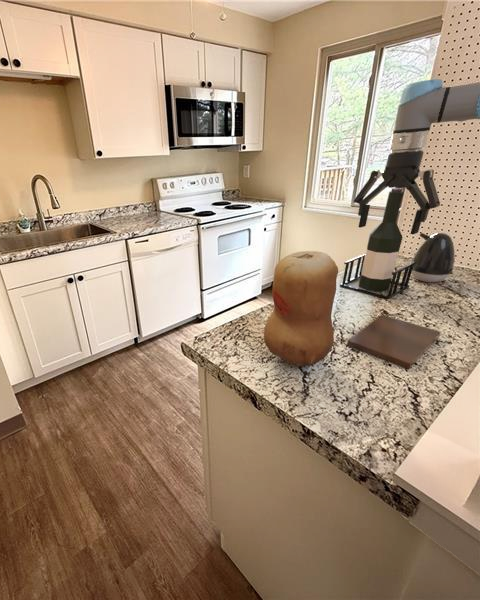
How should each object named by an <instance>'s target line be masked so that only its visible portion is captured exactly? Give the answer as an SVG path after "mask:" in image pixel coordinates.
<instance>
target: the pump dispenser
mask: <svg viewBox="0 0 480 600" xmlns="http://www.w3.org/2000/svg"><path fill="white" fill-rule="evenodd" d="M419 237H420V238H422V239H423V240H425V241H424V242H423V243H422V244H421V245H420V247H419V248H418V249H417V251H416V253H415V254H414V256H413V258H412V259H411V262H410V263H412V262H416V264H415V265H414V266H413V269H412V273H411V276H412V277H413V278H414V279H416V280H417V281H420V282H424V283H438V282H442V281H444V280H445V279H447V278H448V277H449V276H450V275H451V274H452V273H453V271H454V267H455V262H456V261H455V260H456V259H455V258H456V251H455V244H454V241H453V238H452V237H451V236H450V235H449V234H447V233H444V232H438V233H434V234H432V235H427V234H425V233H423V232H421V233H420V234H419Z"/></svg>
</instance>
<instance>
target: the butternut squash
mask: <svg viewBox="0 0 480 600" xmlns="http://www.w3.org/2000/svg"><path fill="white" fill-rule="evenodd" d="M273 272H274V273H273V280H272V291H271V294H272V295H271V296H272V300H273V305H274V307H273V310H272V312H271V314H270V315H269V317H268V318H267V321H266V323H265V325H264V330H263V341H264V344H265V346H266V347H267V349H268V350H269V351H270V352H271V353H272V354H273V355H275V356H277V357H278V358H280V359H281V360H283V361H285V362H286V363H288V364H290V365H296V366H301V367H303V366H306V367H311V366H314V365H316V364H318V363H319V362H321V361H322V360H323V359H325V358H327V356H328V354H330V353H331V352H332V350H333V346H334V342H335V339H334V338H335V331H334V326H333V320H332V314H333V308H334V302H335V297H336V293H337V279H338V275H339V267H338V265H337V264H336V261H334V259H333V257H331V255H329V254H328V253H326V252H322V251H318V250H302V251H301V250H300V251H297V252H292V253H290V254H288V255H286V256H284V257H283V258H281V259H280V260H279V261H278V262H277V263H276V265H275V266H274V271H273Z"/></svg>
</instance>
